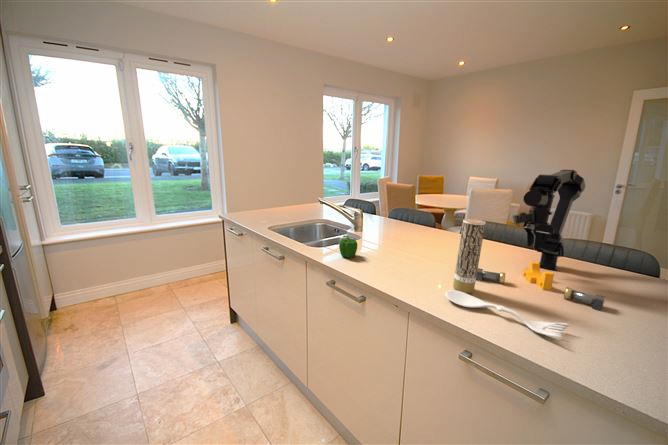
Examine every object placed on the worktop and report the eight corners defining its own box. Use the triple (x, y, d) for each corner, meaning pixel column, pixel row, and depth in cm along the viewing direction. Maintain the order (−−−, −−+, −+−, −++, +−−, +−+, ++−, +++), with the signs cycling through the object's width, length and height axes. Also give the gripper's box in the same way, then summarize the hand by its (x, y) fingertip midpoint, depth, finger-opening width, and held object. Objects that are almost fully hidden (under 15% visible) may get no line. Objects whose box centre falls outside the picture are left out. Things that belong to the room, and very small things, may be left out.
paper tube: (449, 285, 107) (459, 218, 101) (467, 285, 107) (478, 218, 101) (458, 294, 100) (470, 223, 94) (477, 294, 101) (490, 223, 95)
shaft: (562, 299, 97) (565, 288, 96) (565, 295, 100) (568, 285, 99) (601, 311, 90) (604, 299, 90) (603, 306, 93) (605, 295, 92)
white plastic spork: (560, 348, 73) (563, 336, 72) (439, 301, 96) (440, 292, 95) (567, 334, 79) (570, 322, 78) (452, 293, 102) (453, 284, 101)
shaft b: (503, 281, 111) (505, 271, 111) (504, 285, 108) (505, 275, 107) (475, 276, 116) (477, 266, 115) (475, 280, 112) (476, 270, 111)
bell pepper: (360, 255, 138) (361, 235, 135) (351, 260, 131) (352, 239, 129) (344, 252, 142) (345, 232, 140) (335, 257, 135) (336, 236, 133)
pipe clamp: (522, 276, 116) (525, 261, 115) (534, 277, 116) (537, 262, 114) (537, 289, 105) (540, 272, 103) (550, 291, 104) (554, 274, 103)
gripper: (512, 204, 122) (503, 240, 124) (523, 205, 105) (513, 247, 107) (543, 208, 118) (534, 246, 120) (560, 210, 101) (549, 254, 103)
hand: (531, 248), depth 113 cm, fingers open, 9 cm apart
